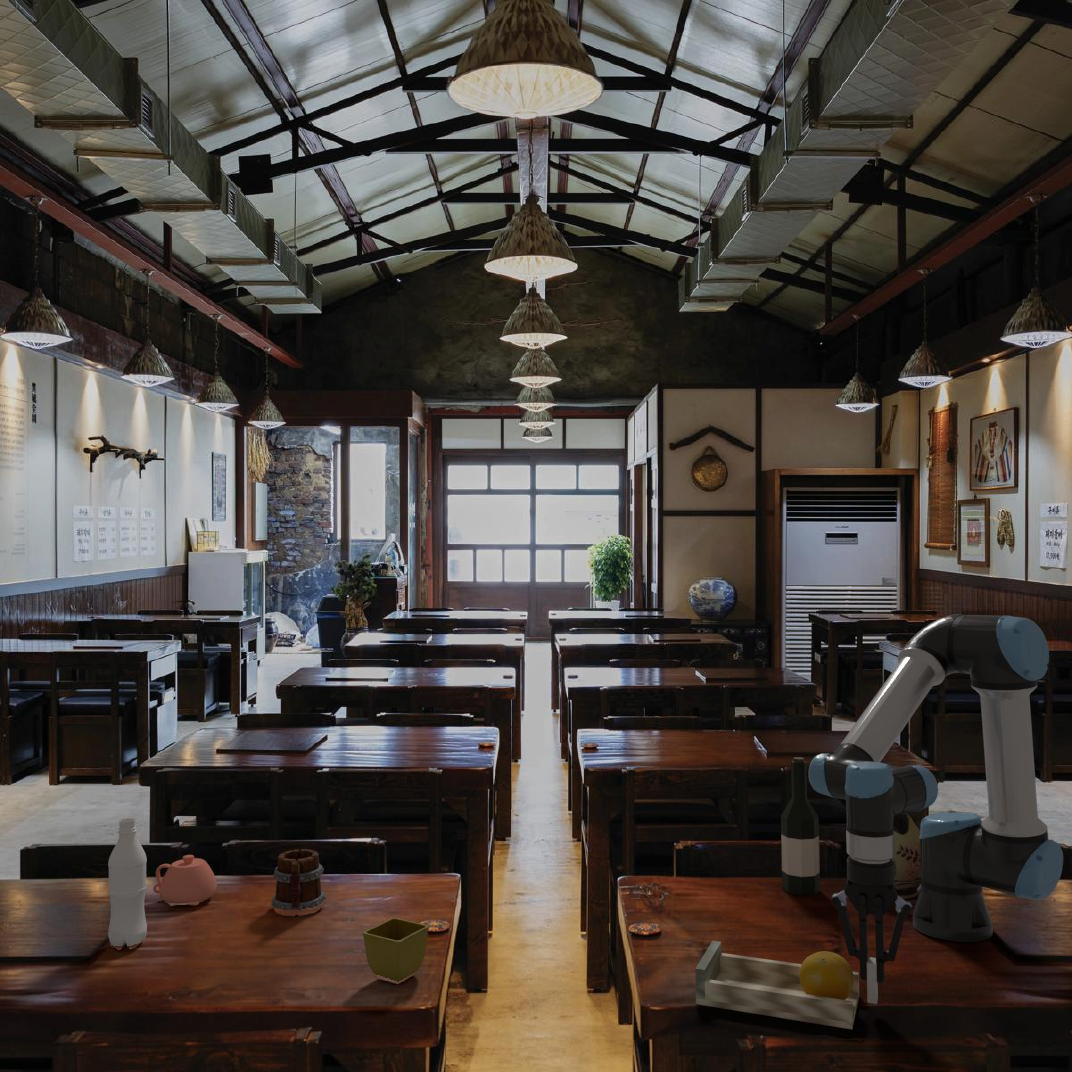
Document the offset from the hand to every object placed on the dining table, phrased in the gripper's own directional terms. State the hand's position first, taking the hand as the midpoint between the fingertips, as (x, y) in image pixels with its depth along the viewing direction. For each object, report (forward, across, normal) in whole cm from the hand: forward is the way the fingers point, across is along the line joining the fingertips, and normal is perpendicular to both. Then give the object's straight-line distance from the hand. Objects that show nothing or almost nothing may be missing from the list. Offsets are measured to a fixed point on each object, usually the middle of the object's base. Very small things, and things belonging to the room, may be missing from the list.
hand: (872, 999), depth 167 cm
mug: (+3, +120, -8) cm, 120 cm away
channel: (+3, +15, 0) cm, 15 cm away
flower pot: (+3, +82, +16) cm, 83 cm away
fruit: (+2, +7, 0) cm, 8 cm away
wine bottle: (+3, +19, -60) cm, 63 cm away
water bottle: (+3, +140, +21) cm, 141 cm away
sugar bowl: (+3, +148, -4) cm, 148 cm away
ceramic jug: (+3, -1, -64) cm, 64 cm away
